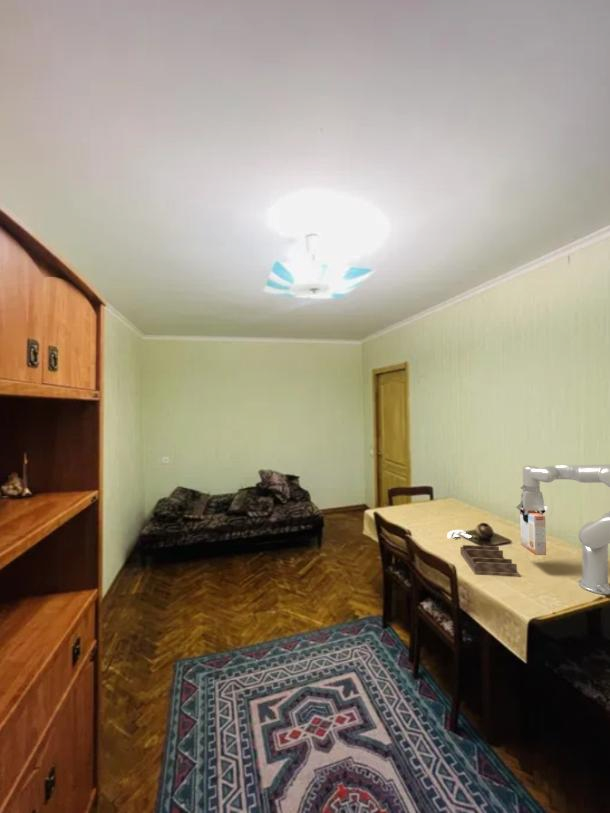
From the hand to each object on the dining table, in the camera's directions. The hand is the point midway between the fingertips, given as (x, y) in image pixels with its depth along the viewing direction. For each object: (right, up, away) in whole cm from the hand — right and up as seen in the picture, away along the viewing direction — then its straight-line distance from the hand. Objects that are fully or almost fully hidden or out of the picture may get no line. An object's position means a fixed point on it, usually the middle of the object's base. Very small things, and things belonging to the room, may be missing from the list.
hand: (532, 521), depth 183 cm
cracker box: (0, -16, 0) cm, 16 cm away
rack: (-21, -26, +6) cm, 34 cm away
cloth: (-18, -27, +47) cm, 57 cm away
